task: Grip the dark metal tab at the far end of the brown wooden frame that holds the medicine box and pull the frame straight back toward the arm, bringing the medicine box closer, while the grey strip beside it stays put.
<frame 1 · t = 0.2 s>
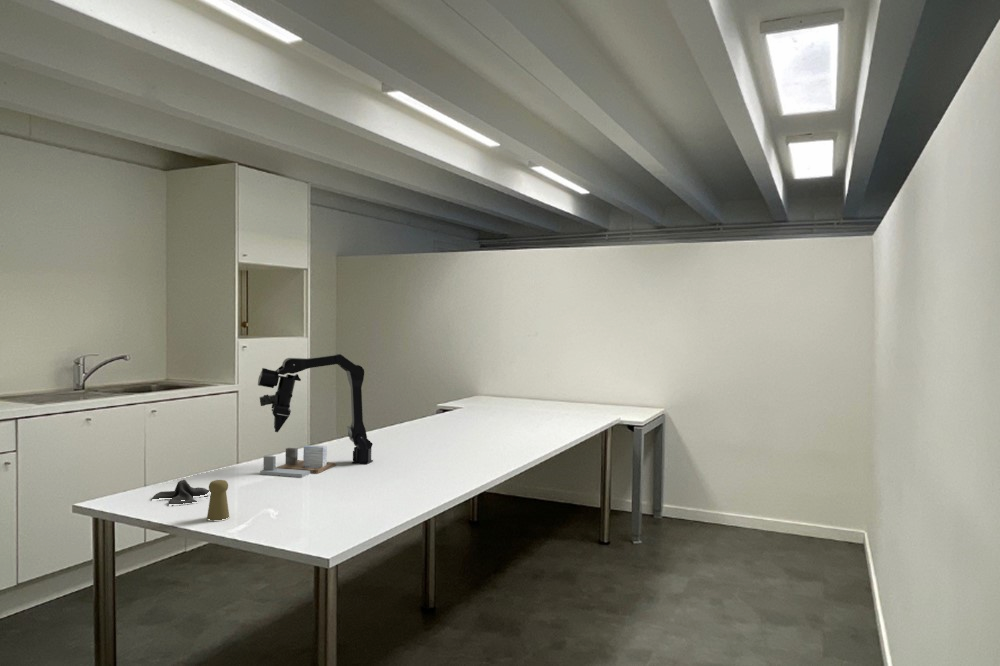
hand: (275, 430, 260), 15 cm above the table, tool pointing down, fingers open, 9 cm apart
brown wooden frame: (306, 458, 263), point 4 cm above the table, slide at 2.4 cm, touching medicine box
medicine box: (314, 469, 262), resting in brown wooden frame
grey strip: (285, 465, 252), point 3 cm above the table, slide at 0.0 cm
cork: (218, 518, 197), on the table
cloth: (187, 498, 220), on the table
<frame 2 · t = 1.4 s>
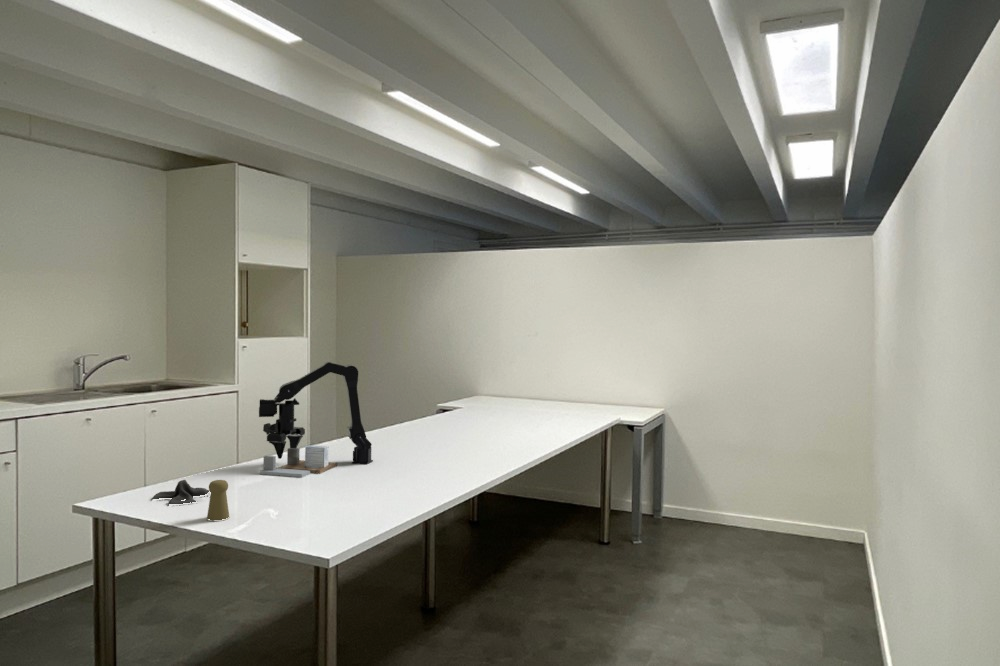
hand: (286, 456, 265), 4 cm above the table, tool pointing down, fingers open, 9 cm apart
brown wooden frame: (308, 458, 263), point 4 cm above the table, slide at 3.2 cm, touching medicine box
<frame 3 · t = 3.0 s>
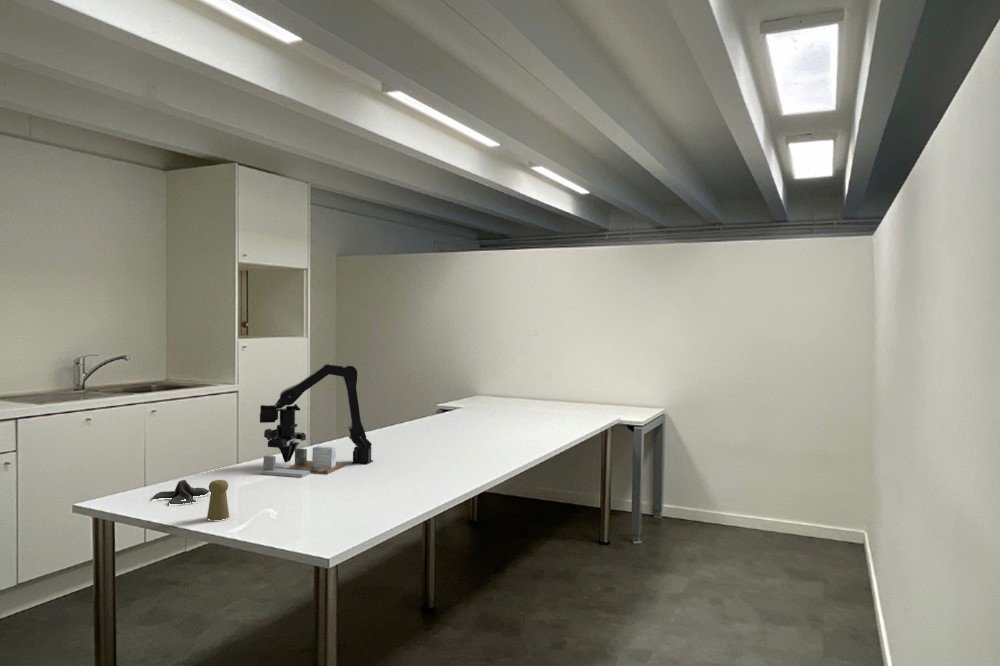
hand: (287, 461, 265), 2 cm above the table, tool pointing down, fingers closed
brown wooden frame: (316, 459, 262), point 4 cm above the table, slide at 6.4 cm, touching medicine box
medicine box: (323, 469, 261), resting in brown wooden frame
everything else where it was.
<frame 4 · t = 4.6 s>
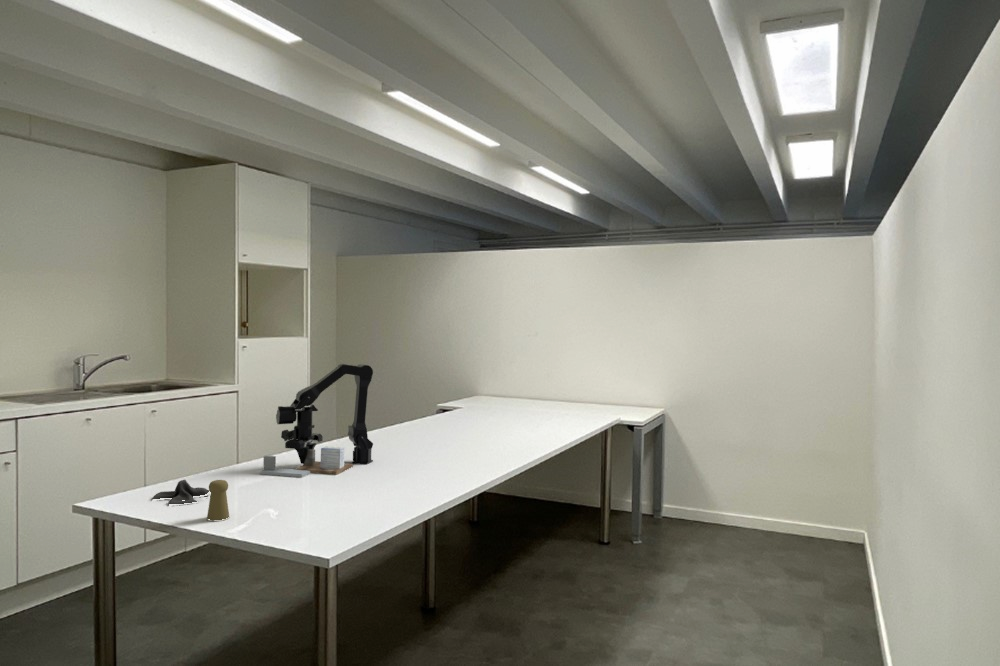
hand: (304, 463, 263), 2 cm above the table, tool pointing down, fingers closed on brown wooden frame, 2 cm apart
brown wooden frame: (324, 460, 261), point 4 cm above the table, slide at 9.9 cm, touching gripper, medicine box
medicine box: (332, 470, 260), resting in brown wooden frame
everything else where it was.
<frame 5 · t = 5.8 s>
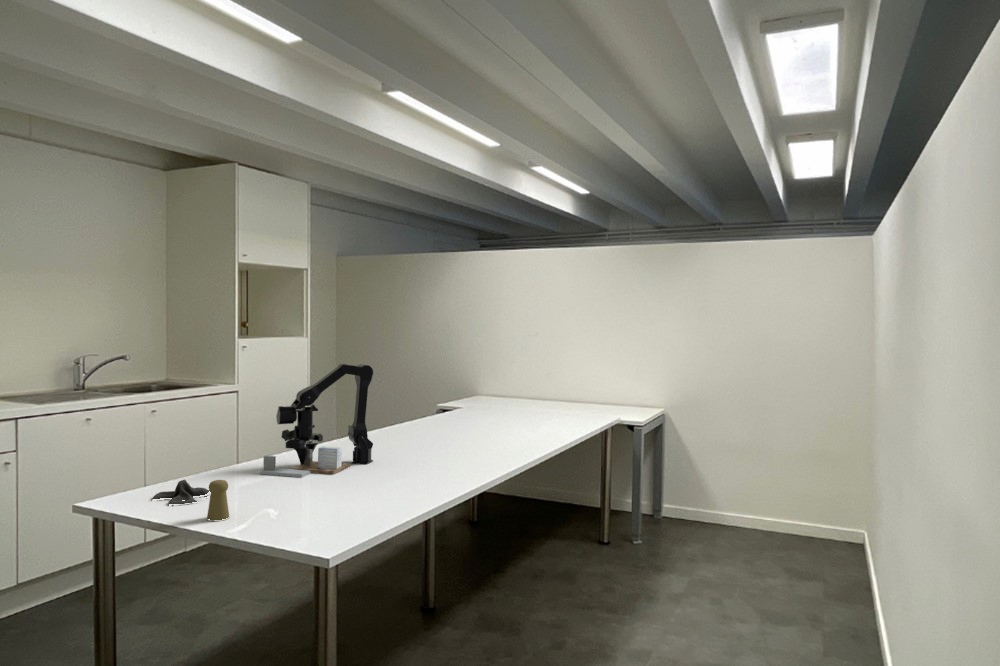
hand: (304, 462, 263), 2 cm above the table, tool pointing down, fingers open, 3 cm apart
brown wooden frame: (321, 459, 262), point 4 cm above the table, slide at 8.8 cm, touching medicine box
medicine box: (329, 470, 260), resting in brown wooden frame
everything else where it was.
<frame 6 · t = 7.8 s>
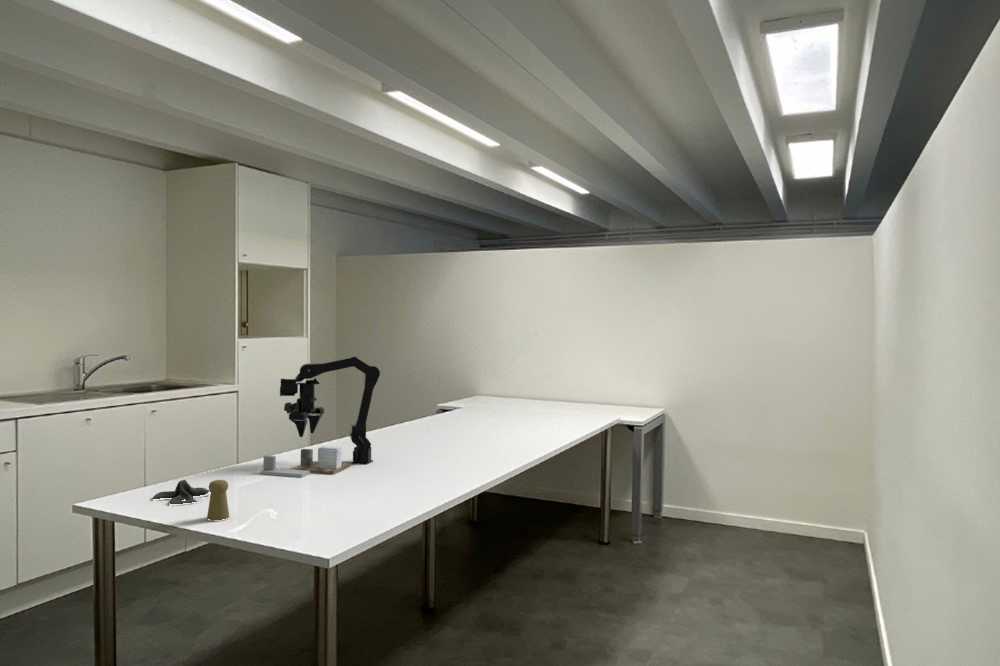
hand: (306, 435, 269), 12 cm above the table, tool pointing down, fingers open, 9 cm apart
nothing on the table moved.
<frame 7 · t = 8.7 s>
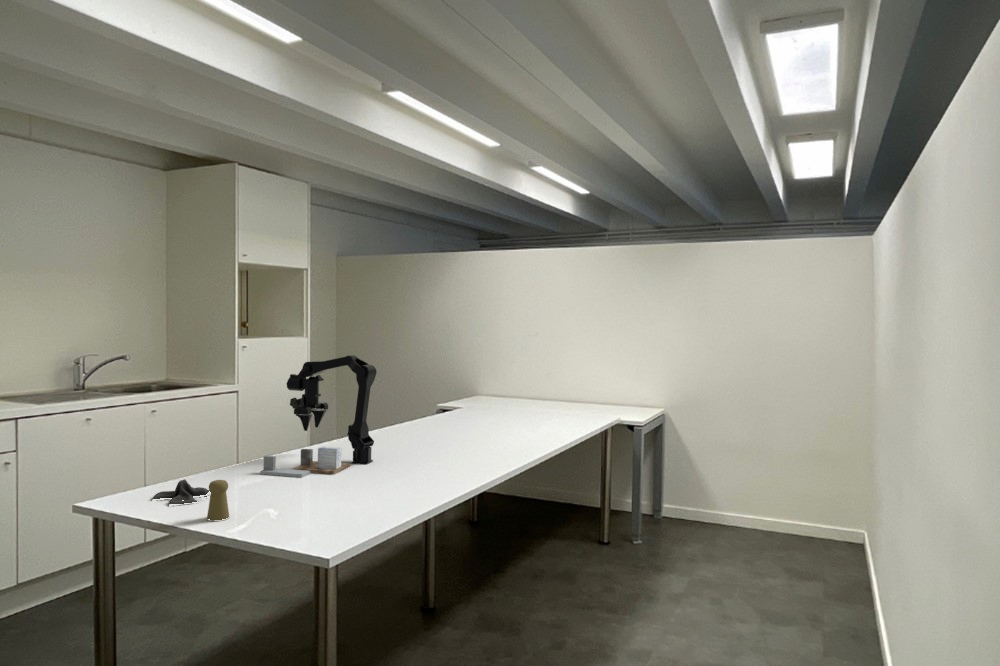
hand: (311, 429, 282), 12 cm above the table, tool pointing down, fingers open, 9 cm apart
nothing on the table moved.
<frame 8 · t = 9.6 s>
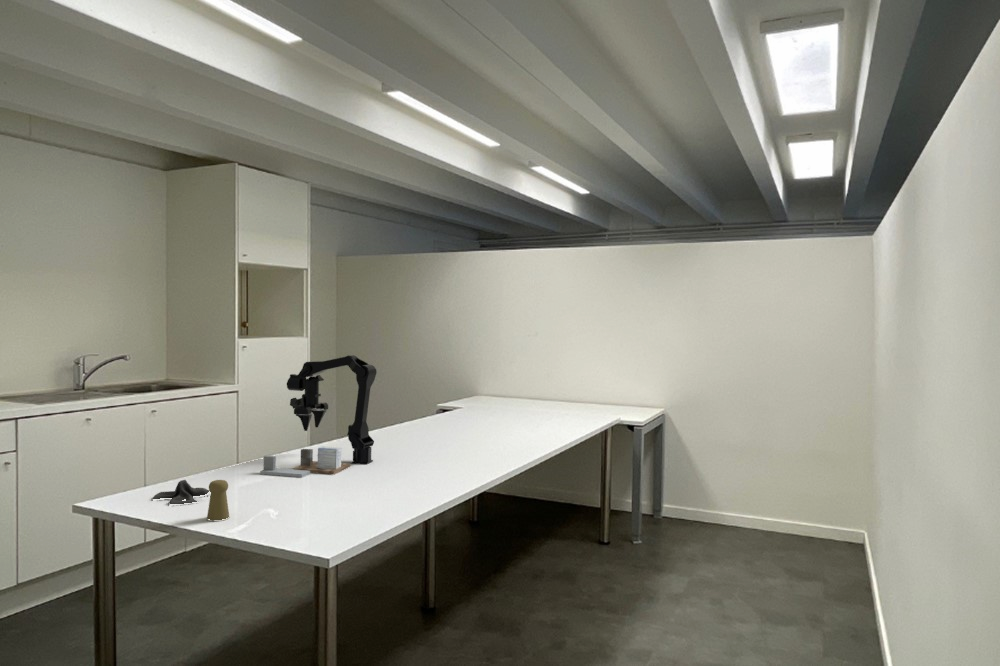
hand: (311, 429, 282), 12 cm above the table, tool pointing down, fingers open, 9 cm apart
nothing on the table moved.
at the end: medicine box inside the target area (1.9 cm from its centre), resting in brown wooden frame; medicine box tilted 2°; brown wooden frame slide at 8.9 cm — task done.
